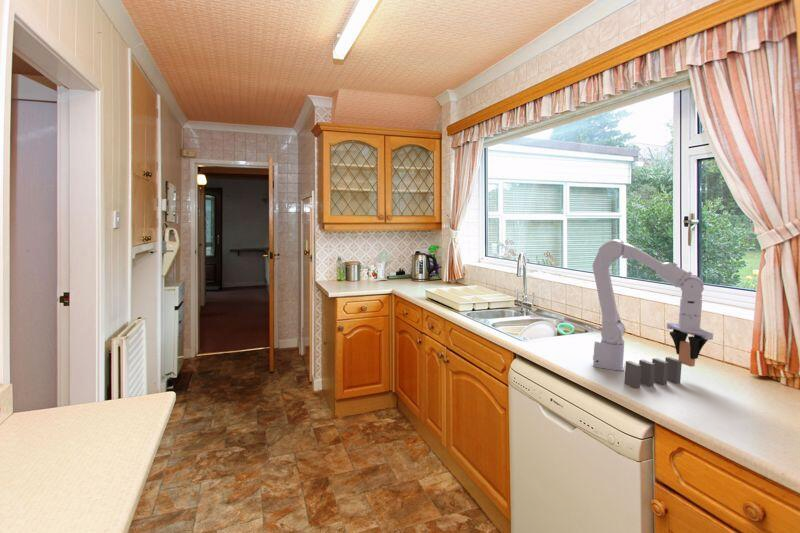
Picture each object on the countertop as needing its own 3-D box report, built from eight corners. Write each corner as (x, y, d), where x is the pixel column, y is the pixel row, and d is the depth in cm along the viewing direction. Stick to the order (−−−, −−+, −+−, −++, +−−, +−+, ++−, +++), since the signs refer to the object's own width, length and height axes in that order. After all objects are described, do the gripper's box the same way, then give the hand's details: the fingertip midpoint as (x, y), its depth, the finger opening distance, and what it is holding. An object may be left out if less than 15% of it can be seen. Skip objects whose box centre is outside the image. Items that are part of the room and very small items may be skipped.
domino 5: (690, 366, 137) (692, 344, 136) (678, 362, 141) (679, 341, 141) (694, 366, 138) (696, 344, 137) (682, 361, 142) (683, 340, 141)
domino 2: (649, 386, 133) (650, 364, 133) (638, 381, 138) (639, 359, 137) (653, 386, 134) (655, 363, 133) (642, 381, 138) (643, 359, 137)
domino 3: (662, 384, 135) (664, 362, 134) (651, 379, 139) (652, 358, 138) (666, 384, 135) (668, 362, 135) (655, 379, 140) (656, 358, 139)
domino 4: (676, 383, 136) (677, 361, 136) (664, 378, 140) (665, 357, 140) (680, 382, 137) (681, 361, 136) (668, 378, 141) (669, 356, 140)
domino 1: (635, 388, 132) (636, 365, 131) (624, 383, 136) (625, 361, 136) (639, 387, 132) (641, 365, 132) (628, 382, 137) (629, 360, 136)
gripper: (722, 318, 132) (718, 362, 133) (679, 309, 146) (676, 348, 147) (704, 319, 130) (700, 364, 131) (662, 310, 144) (660, 350, 145)
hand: (686, 356), depth 139 cm, fingers closed on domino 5, 4 cm apart
